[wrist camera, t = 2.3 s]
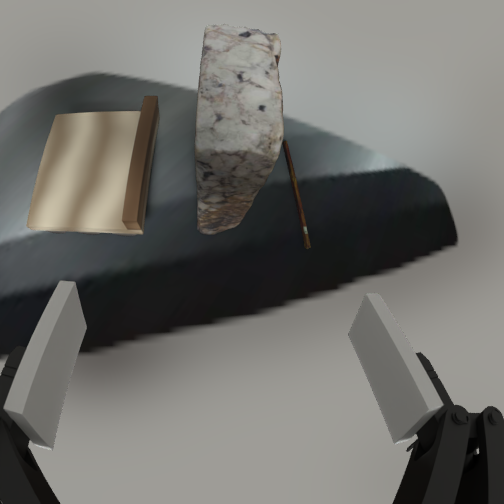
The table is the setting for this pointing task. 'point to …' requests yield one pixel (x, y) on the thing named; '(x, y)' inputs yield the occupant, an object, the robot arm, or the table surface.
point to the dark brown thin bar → (296, 195)
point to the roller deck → (96, 172)
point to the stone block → (235, 122)
